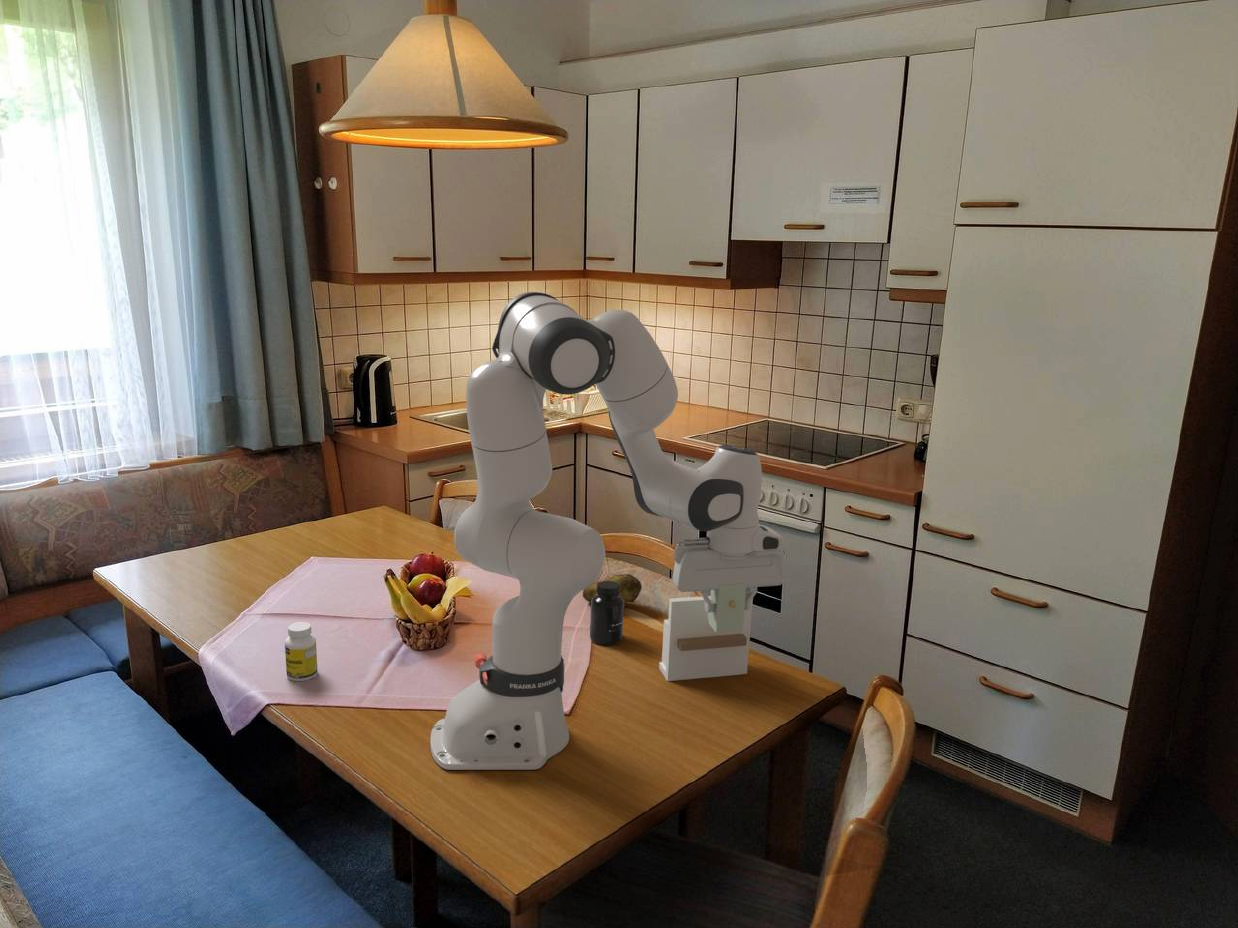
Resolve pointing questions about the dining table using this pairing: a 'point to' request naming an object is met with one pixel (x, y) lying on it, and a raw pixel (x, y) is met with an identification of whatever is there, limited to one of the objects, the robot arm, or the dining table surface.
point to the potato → (628, 588)
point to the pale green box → (728, 608)
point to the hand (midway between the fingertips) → (727, 609)
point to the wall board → (701, 643)
